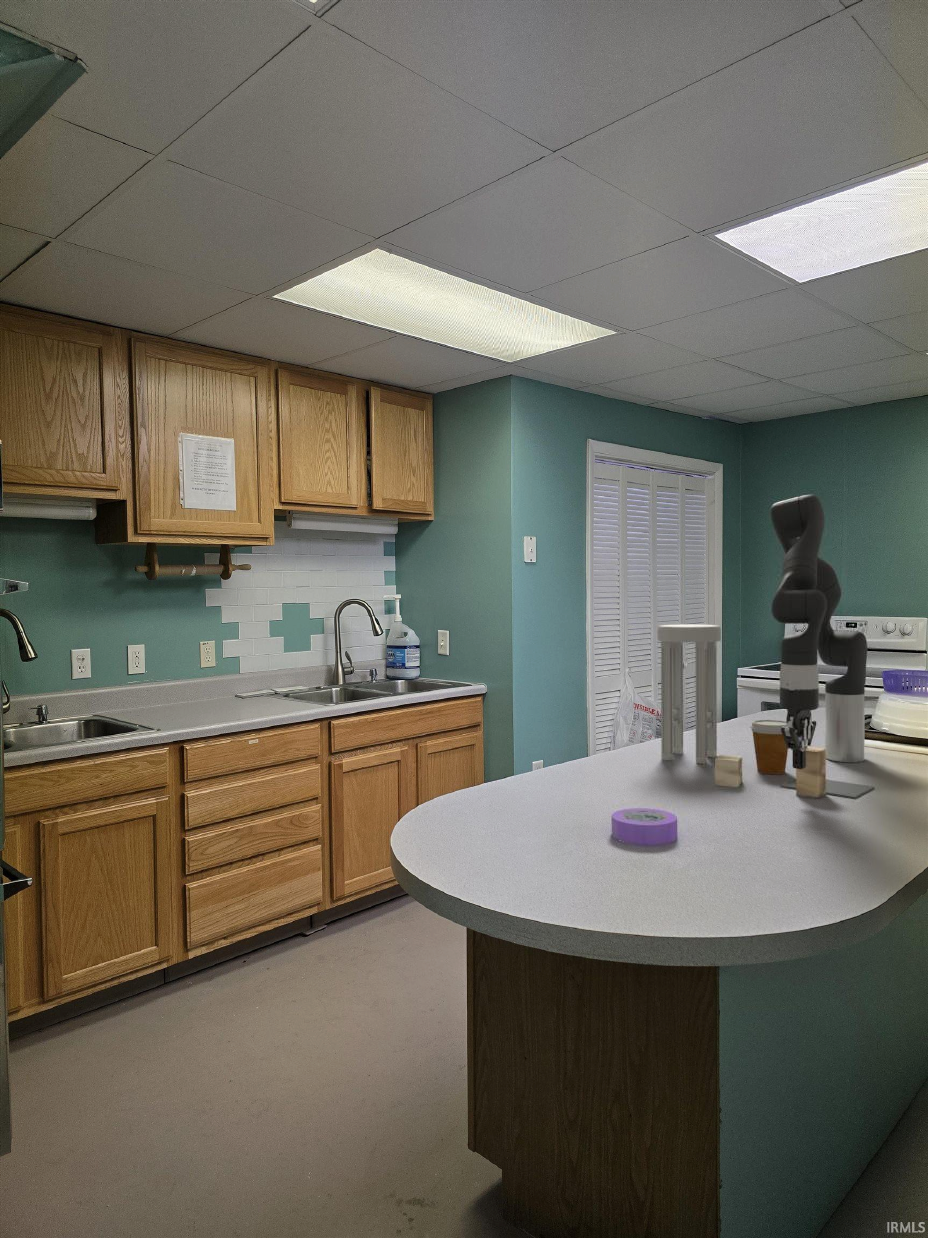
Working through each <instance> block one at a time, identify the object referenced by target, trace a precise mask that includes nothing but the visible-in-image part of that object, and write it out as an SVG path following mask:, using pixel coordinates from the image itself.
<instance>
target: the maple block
mask: <svg viewBox="0 0 928 1238" xmlns="http://www.w3.org/2000/svg"><path fill="white" fill-rule="evenodd" d="M714 767H715V769H714V773H715V774H714V780H715V781H714V782H715V783H714V784H715V786H725V787H733V788H738V787H740V785H741V784H742V783H743V756H737V755H726V754H725V755H724V754H719V755H717V756H716V757H715V759H714Z"/></svg>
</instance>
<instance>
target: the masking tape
mask: <svg viewBox="0 0 928 1238" xmlns="http://www.w3.org/2000/svg"><path fill="white" fill-rule="evenodd" d="M611 836H612V837H613V838H614V839H615V838H616V839H615V840H617V839H618V840H617V841H619V840H621V841H620V842H622V841H624V842H623V843H625V842H628V843H627V844H629V843H630V844H631V845H635V846H637V845H638V846H664V845H668V844H672V843H674V842H676V841H677V840H678V816H677V815H676V814H675V813H672V812H670V811H667V810H663V809H656V808H643V807H642V808H639V807H638V808H637V807H636V808H633V807H632V808H626V809H624V808H623V809H620V810H617V811H614V812H612V814H611Z"/></svg>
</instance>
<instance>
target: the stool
mask: <svg viewBox="0 0 928 1238" xmlns="http://www.w3.org/2000/svg"><path fill="white" fill-rule="evenodd" d="M657 641H658V642H660V703H661V704H660V707H661V708H660V716H661V718H660V726H661V727H660V730H661V731H660V732H661V733H660V734H661V735H660V737H661V738H660V739H661V740H660V742H661V745H660V746H661V749H660V751H661V759H662V760H663V761H671V760H673V758H674V757H673V756H674V755H673V754H674V753H675V755H682V754H683V753H684V643H694V645H695V649H694V650H695V660H694V661H695V662H694V663H695V666H694V667H695V764H703V765H706V764H707V763H708V757H709V758H717V757H718V745H717V744H718V730H717V727H718V726H717V725H718V718H717V716H718V713H717V711H718V710H717V708H718V707H717V705H718V702H717V700H718V699H717V698H718V697H717V695H718V694H717V693H718V691H717V690H718V689H717V688H718V687H717V686H718V685H717V684H718V683H717V681H718V680H717V679H718V675H717V674H718V673H717V668H718V667H717V664H718V663H717V655H718V654H717V652H718V651H717V649H718V648H717V645H718V644H717V642H721V641H722V628H721V626H720V625H718V624H717V625H716V624H701V623H700V624H696V623H695V624H693V623H692V624H688V623H687V624H686V623H685V624H663V625H662V624H661V625H658V627H657Z"/></svg>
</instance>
